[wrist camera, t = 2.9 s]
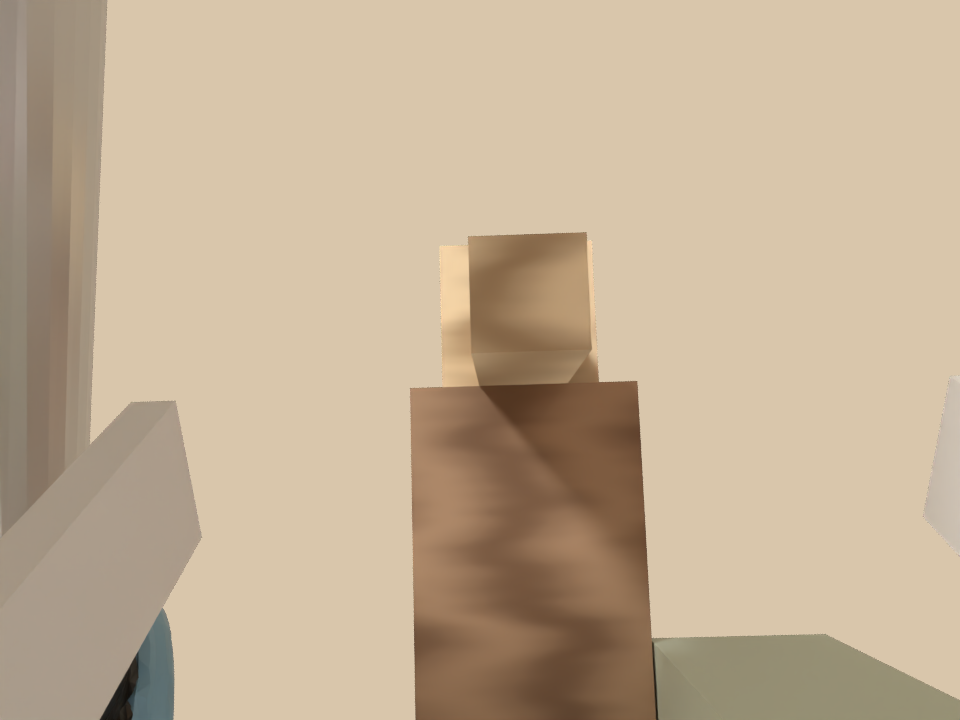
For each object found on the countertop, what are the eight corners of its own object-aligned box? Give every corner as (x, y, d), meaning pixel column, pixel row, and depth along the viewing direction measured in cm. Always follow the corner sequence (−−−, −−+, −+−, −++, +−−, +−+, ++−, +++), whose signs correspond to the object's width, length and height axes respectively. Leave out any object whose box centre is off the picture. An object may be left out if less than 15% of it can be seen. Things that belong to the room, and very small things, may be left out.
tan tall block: (410, 355, 24) (407, 126, 25) (449, 405, 41) (446, 270, 42) (652, 347, 24) (639, 117, 25) (588, 401, 41) (582, 266, 42)
